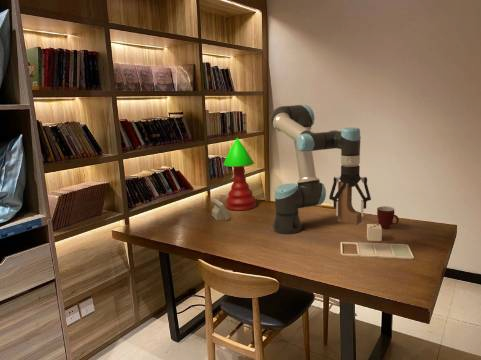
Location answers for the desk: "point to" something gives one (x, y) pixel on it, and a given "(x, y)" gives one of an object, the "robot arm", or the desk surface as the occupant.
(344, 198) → the wooden block
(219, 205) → the grey lumpy piece
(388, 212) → the mug
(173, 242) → the desk surface
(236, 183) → the table lamp
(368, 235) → the die
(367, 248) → the track board
